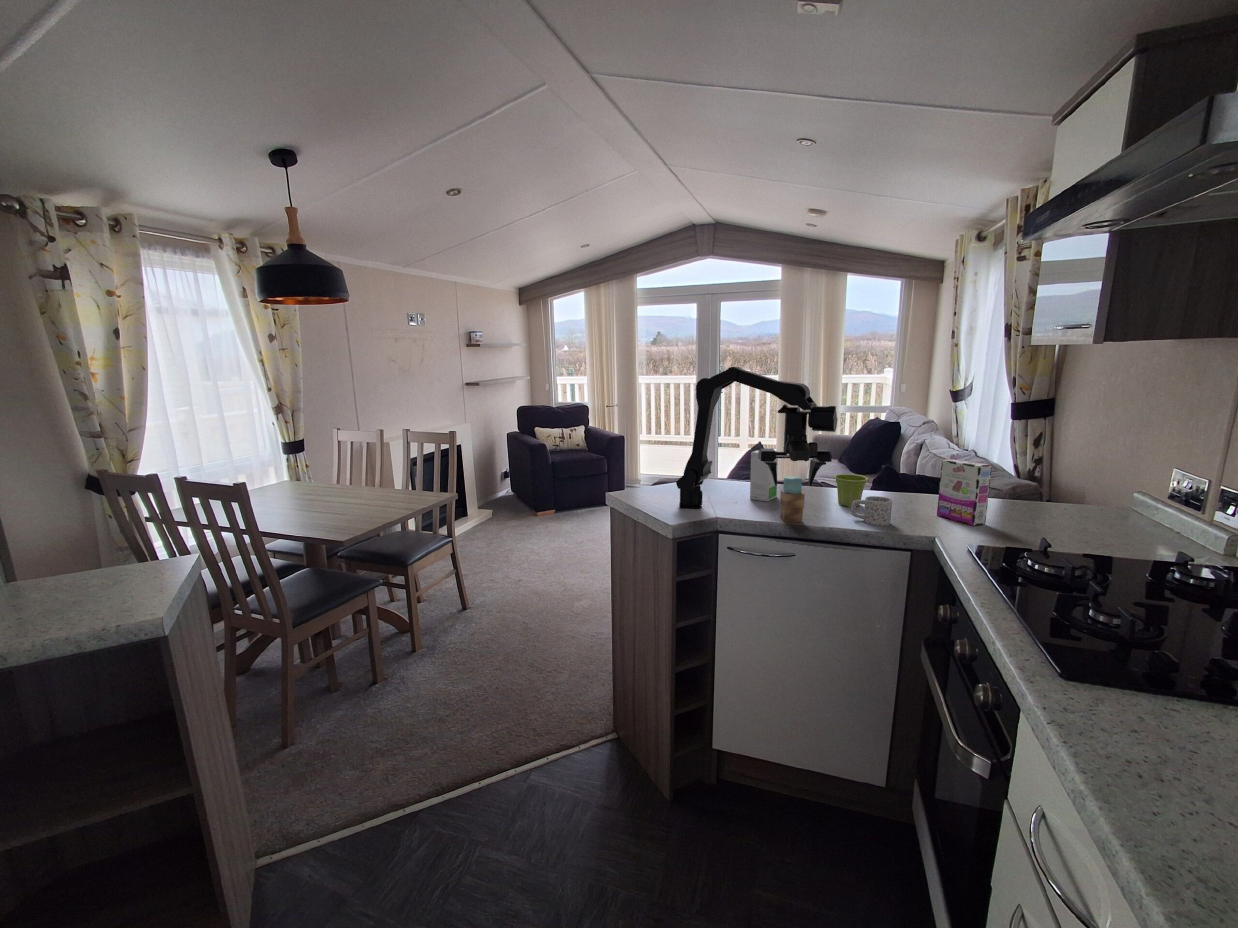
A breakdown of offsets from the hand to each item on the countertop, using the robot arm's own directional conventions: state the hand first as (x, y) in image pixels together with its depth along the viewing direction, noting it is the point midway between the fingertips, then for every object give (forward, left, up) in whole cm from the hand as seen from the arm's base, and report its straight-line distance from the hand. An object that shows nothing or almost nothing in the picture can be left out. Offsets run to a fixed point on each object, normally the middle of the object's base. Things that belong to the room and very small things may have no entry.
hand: (792, 485), depth 148 cm
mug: (+21, -1, -10) cm, 23 cm away
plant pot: (+21, +17, -10) cm, 29 cm away
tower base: (0, 0, -10) cm, 10 cm away
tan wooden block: (0, 0, -6) cm, 6 cm away
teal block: (0, 0, -2) cm, 2 cm away
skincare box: (-4, +24, -10) cm, 26 cm away
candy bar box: (+46, +2, -10) cm, 47 cm away
